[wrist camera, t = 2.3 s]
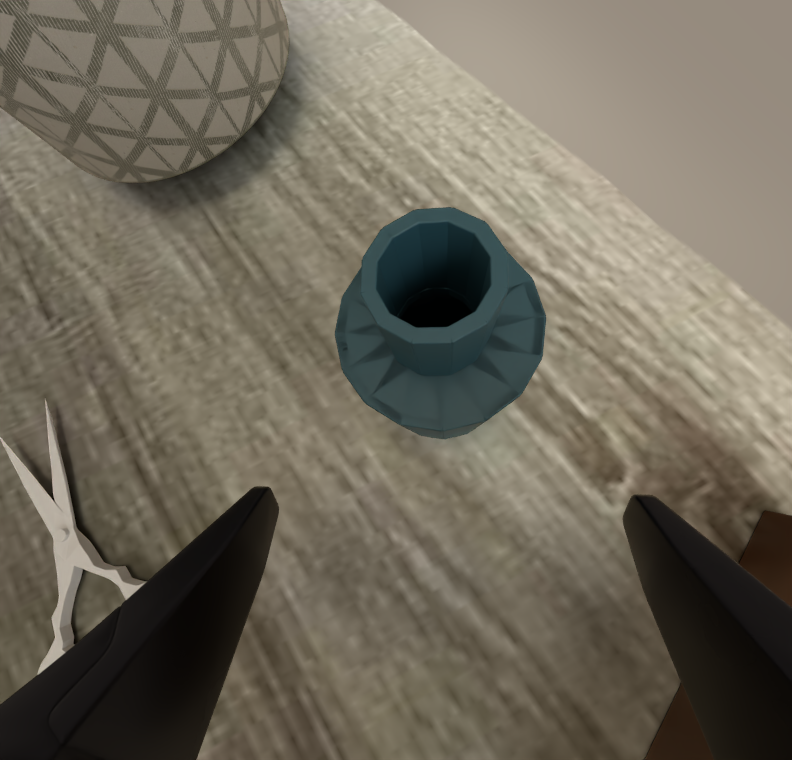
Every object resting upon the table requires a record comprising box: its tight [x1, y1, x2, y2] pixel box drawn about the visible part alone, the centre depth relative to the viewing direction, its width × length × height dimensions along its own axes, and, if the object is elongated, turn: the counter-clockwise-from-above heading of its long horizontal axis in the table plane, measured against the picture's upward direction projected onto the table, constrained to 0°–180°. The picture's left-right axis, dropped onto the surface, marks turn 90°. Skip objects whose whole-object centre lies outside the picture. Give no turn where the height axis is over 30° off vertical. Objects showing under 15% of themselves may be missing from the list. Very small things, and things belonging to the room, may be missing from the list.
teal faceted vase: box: [335, 207, 546, 439], centre depth 15 cm, size 7×7×14 cm
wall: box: [645, 511, 792, 760], centre depth 14 cm, size 19×2×6 cm, turn 148°
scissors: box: [0, 399, 147, 675], centre depth 22 cm, size 11×1×20 cm
